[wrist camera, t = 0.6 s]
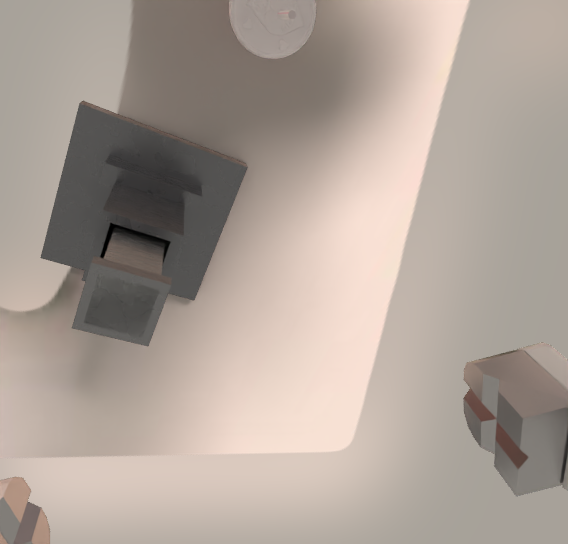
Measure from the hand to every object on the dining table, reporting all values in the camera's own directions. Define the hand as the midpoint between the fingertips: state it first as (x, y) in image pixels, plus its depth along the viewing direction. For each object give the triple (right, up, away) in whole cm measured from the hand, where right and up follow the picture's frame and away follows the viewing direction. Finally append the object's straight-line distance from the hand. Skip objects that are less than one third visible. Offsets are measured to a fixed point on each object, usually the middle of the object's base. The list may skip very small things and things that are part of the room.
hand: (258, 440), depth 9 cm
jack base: (-14, +10, +41) cm, 44 cm away
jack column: (-13, +9, +40) cm, 43 cm away
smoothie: (-2, +26, +35) cm, 44 cm away
